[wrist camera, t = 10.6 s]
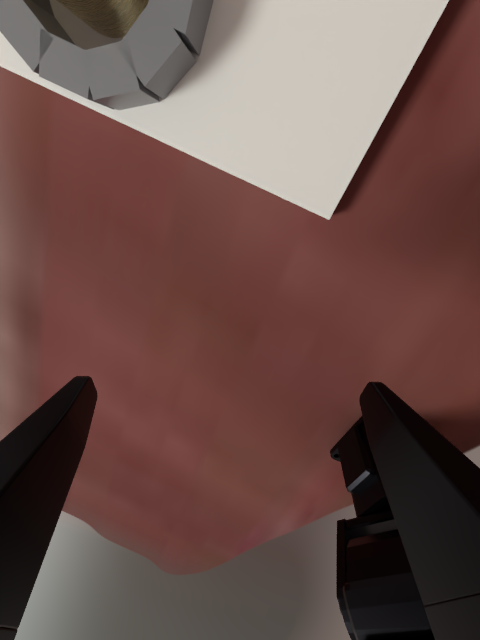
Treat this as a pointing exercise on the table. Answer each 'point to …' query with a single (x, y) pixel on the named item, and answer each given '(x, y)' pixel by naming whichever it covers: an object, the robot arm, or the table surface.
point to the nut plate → (237, 79)
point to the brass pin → (107, 14)
